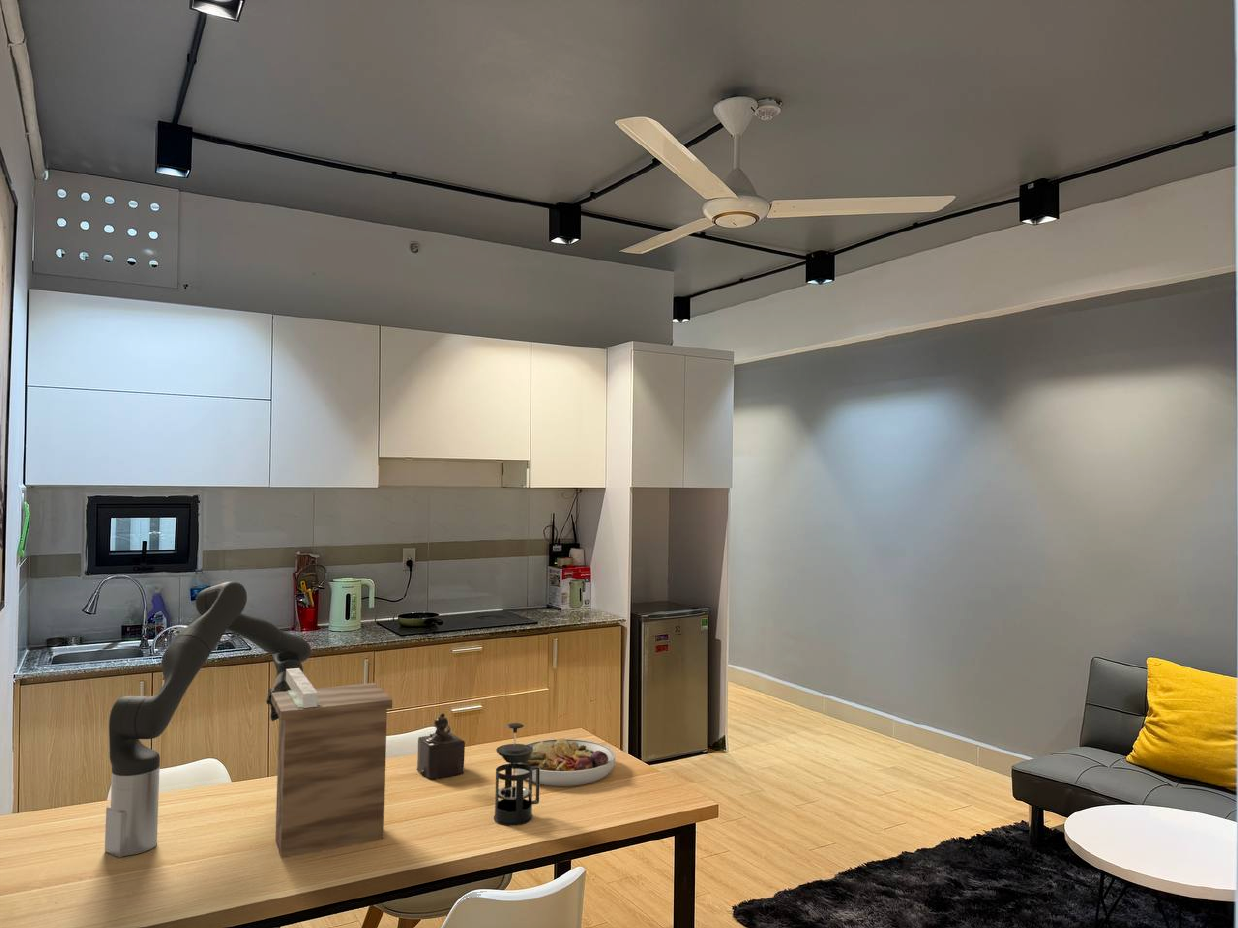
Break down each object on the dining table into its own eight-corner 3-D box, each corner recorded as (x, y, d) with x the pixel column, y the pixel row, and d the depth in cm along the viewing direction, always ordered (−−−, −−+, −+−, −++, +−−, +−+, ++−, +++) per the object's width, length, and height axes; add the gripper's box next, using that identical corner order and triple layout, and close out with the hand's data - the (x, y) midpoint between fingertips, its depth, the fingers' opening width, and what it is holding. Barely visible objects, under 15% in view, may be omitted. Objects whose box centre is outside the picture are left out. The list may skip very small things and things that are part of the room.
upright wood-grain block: (388, 839, 191) (392, 698, 192) (276, 860, 179) (281, 710, 180) (371, 812, 207) (374, 682, 208) (267, 829, 195) (271, 691, 196)
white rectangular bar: (317, 706, 184) (317, 692, 184) (303, 707, 182) (303, 694, 183) (298, 679, 208) (299, 667, 209) (285, 681, 207) (286, 668, 207)
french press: (498, 828, 198) (500, 731, 199) (486, 814, 207) (488, 721, 207) (544, 821, 203) (546, 726, 204) (531, 807, 212) (533, 716, 212)
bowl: (489, 777, 234) (490, 749, 234) (547, 749, 260) (548, 723, 260) (581, 798, 220) (582, 768, 220) (633, 765, 246) (633, 738, 246)
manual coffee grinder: (413, 770, 238) (415, 707, 238) (449, 763, 244) (451, 701, 245) (435, 786, 225) (437, 719, 226) (472, 779, 231) (474, 714, 232)
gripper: (287, 666, 228) (282, 705, 214) (313, 701, 235) (311, 741, 220) (261, 678, 227) (255, 718, 213) (288, 713, 234) (284, 753, 220)
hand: (283, 729), depth 217 cm, fingers open, 8 cm apart
